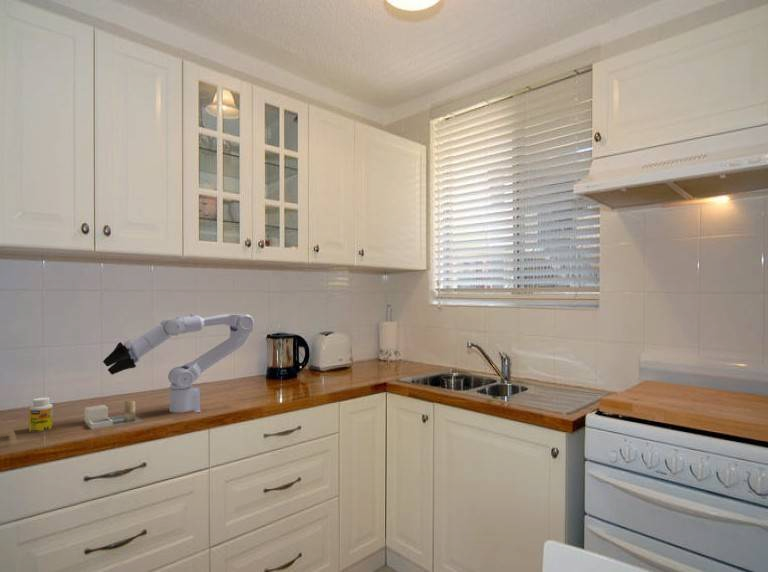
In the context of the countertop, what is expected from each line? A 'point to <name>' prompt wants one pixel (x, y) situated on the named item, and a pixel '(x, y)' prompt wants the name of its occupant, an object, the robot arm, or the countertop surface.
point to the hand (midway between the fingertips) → (107, 368)
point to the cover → (96, 412)
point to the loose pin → (129, 411)
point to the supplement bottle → (40, 415)
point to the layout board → (109, 422)
